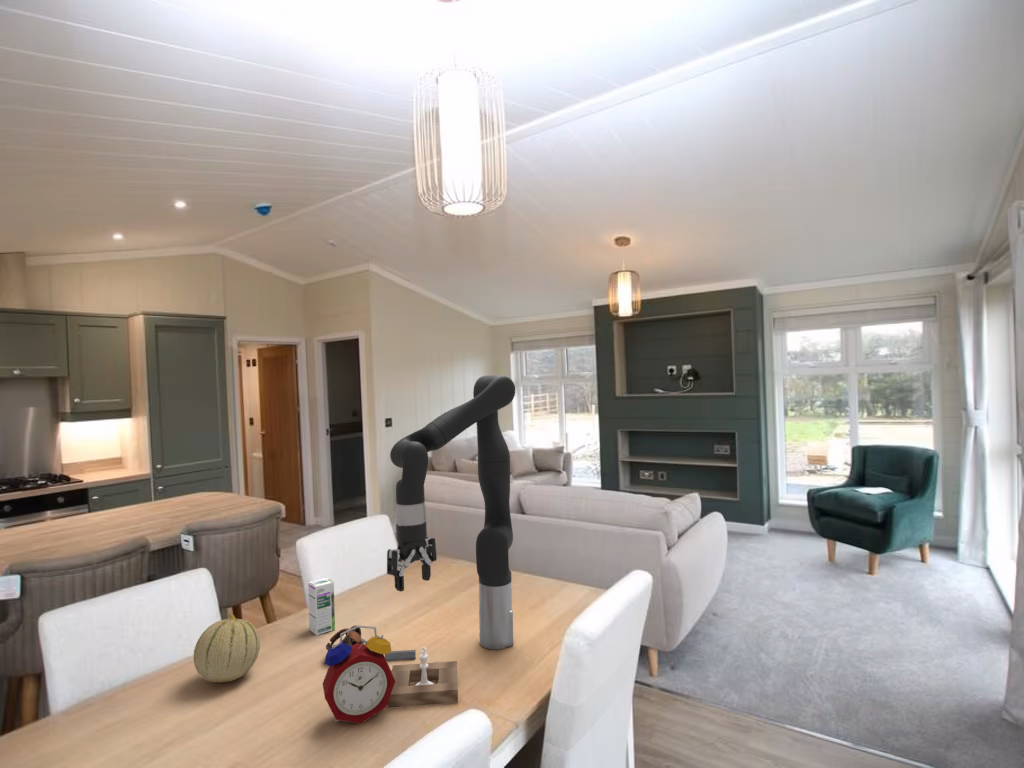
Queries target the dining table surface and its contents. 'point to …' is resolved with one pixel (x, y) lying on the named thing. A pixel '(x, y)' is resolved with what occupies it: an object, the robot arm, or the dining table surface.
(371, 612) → the dining table surface
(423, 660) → the chess piece
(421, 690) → the block
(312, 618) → the syrup box
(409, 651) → the stand rails
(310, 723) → the dining table surface
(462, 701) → the dining table surface
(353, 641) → the pottery mug
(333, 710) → the alarm clock
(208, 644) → the cantaloupe
